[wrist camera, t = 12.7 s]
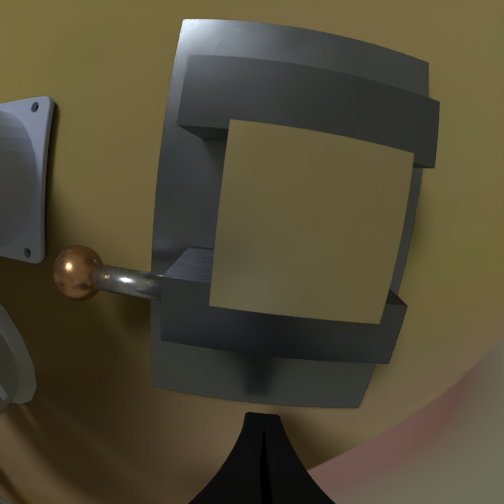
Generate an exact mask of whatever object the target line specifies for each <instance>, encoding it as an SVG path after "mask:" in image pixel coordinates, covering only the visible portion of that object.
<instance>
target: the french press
mask: <svg viewBox="0 0 504 504" xmlns="http://www.w3.org/2000/svg"><path fill="white" fill-rule="evenodd" d="M36 387H37V384H36V378H35V371H34V364H33V362H32V359H31V357H30V355H29V352H28V350H27V347H26V345H25V342H24V340H23V337H22V335H21V334H20V332H19V331H18V329H17V328H16V326H15V324H14V323H13V321H12V319H11V318H10V316H9V314H8V313H7V311H6V309H5V308H4V307H3V306H2V305H1V304H0V414H1V413H2V412H3V411H4V410H5V408H6V407H7V406H8V405H9V404H10V403H16V404H23V403H26V402H28V401H31V400H32V398H33V396H34V393H35V390H36Z"/></svg>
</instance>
